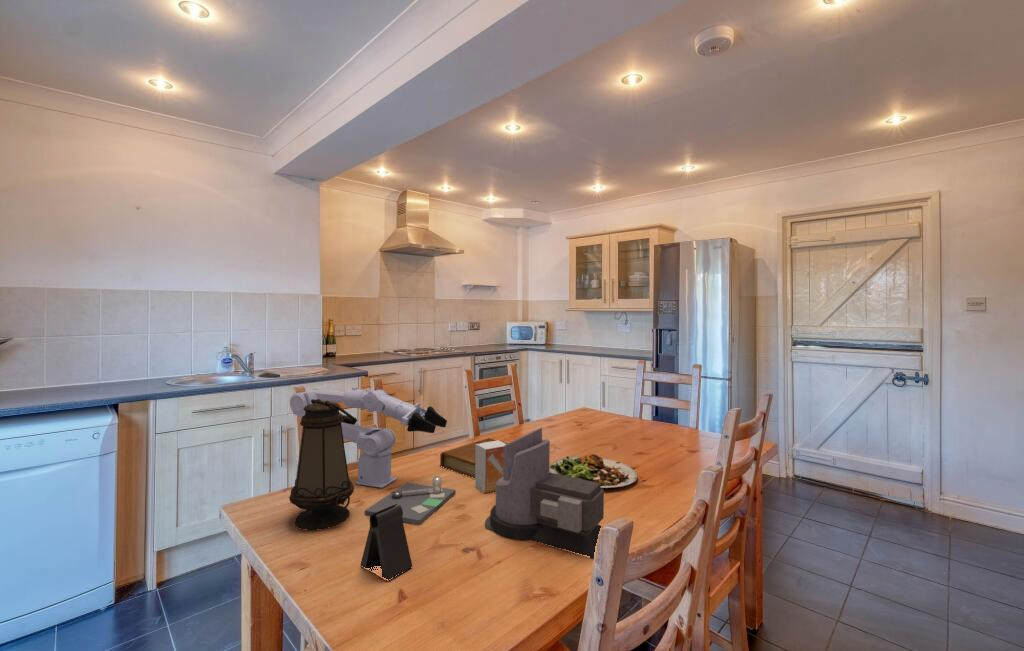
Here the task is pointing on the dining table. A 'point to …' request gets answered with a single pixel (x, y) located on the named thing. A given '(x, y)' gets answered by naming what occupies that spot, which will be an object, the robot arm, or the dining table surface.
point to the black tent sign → (387, 543)
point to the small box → (489, 465)
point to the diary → (462, 458)
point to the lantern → (322, 467)
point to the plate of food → (595, 470)
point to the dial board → (414, 503)
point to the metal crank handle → (435, 489)
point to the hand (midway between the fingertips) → (440, 426)
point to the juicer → (544, 500)
